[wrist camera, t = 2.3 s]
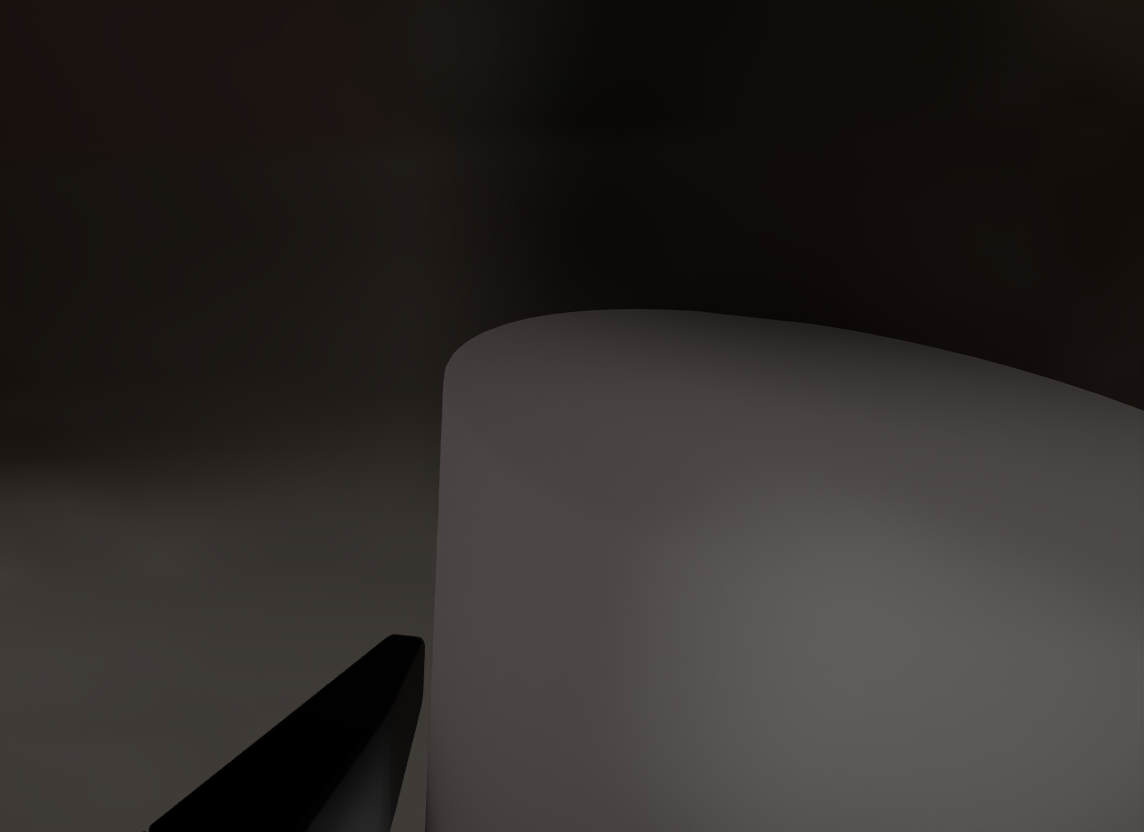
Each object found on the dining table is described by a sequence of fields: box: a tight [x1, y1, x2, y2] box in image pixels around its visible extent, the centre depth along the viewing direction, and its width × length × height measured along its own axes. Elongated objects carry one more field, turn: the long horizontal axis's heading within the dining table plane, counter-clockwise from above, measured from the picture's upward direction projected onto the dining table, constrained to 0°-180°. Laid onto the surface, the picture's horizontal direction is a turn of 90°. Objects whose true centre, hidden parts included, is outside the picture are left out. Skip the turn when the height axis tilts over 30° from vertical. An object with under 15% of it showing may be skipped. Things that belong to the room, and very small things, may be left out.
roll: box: [425, 309, 1144, 832], centre depth 7 cm, size 9×6×6 cm, turn 174°
